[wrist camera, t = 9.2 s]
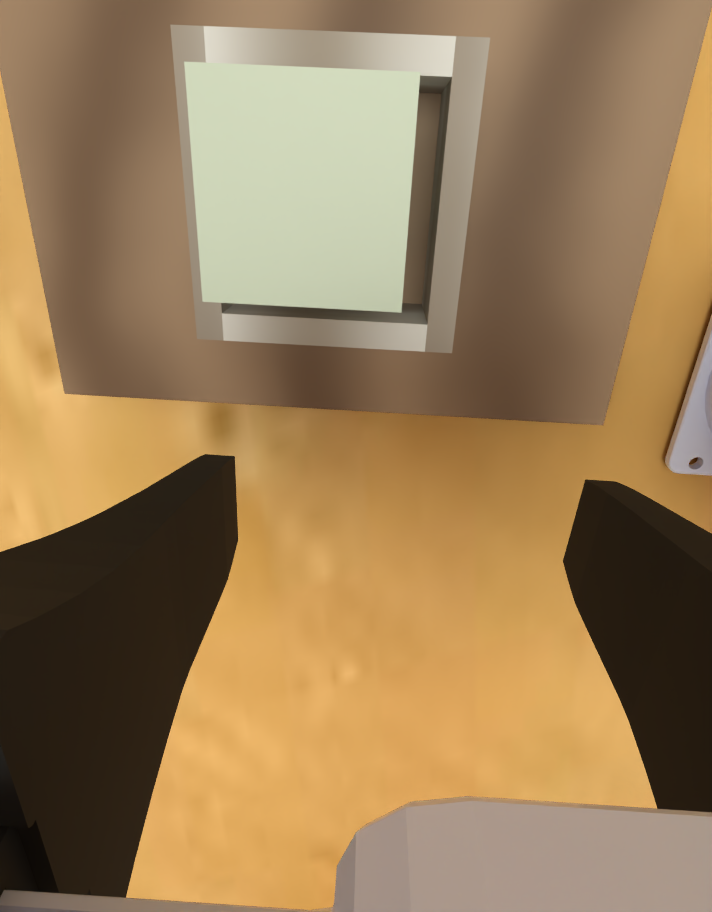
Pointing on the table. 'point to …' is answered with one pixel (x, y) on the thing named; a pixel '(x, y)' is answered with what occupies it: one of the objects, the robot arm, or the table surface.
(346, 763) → the table surface
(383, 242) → the rectangular block
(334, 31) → the brown socket board
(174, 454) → the table surface
